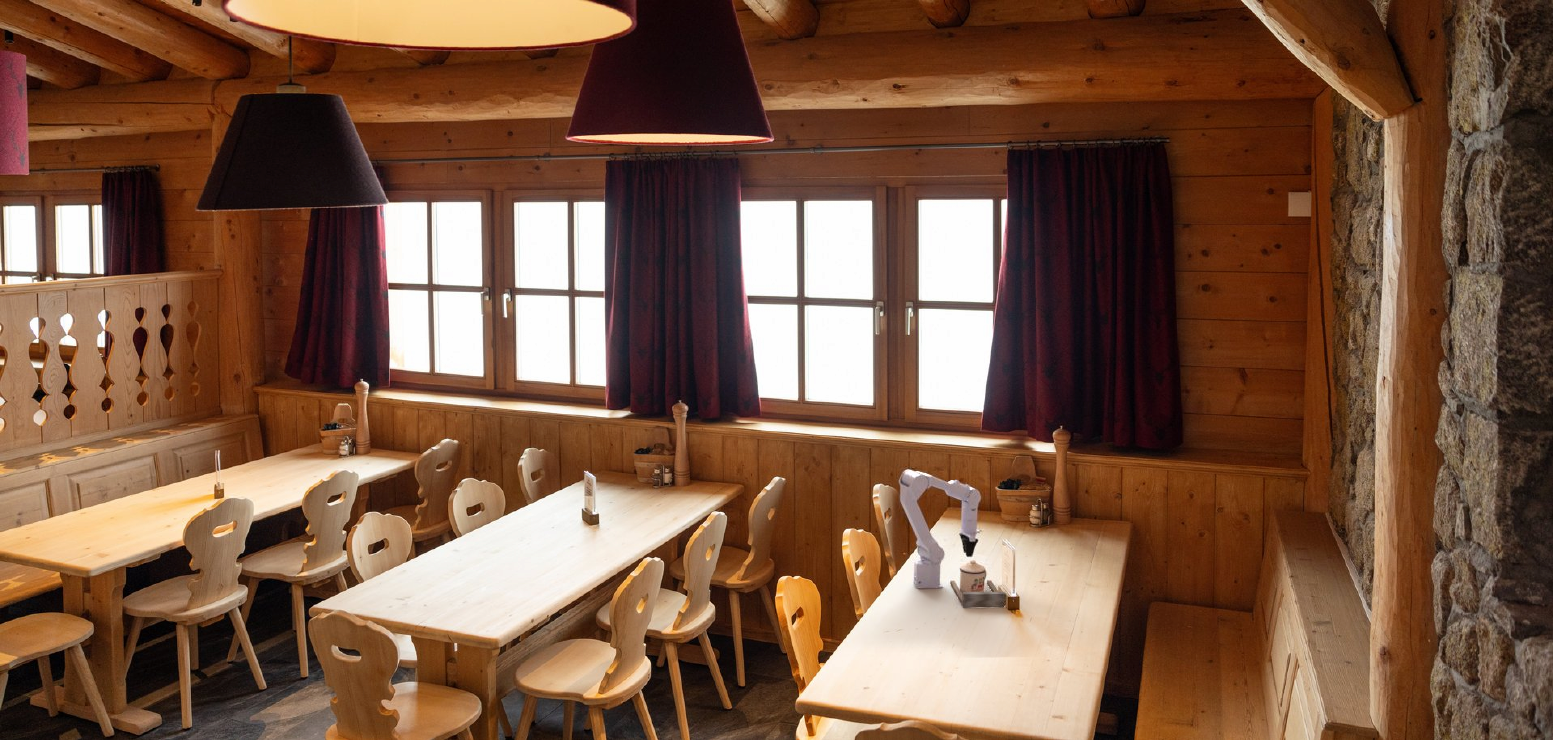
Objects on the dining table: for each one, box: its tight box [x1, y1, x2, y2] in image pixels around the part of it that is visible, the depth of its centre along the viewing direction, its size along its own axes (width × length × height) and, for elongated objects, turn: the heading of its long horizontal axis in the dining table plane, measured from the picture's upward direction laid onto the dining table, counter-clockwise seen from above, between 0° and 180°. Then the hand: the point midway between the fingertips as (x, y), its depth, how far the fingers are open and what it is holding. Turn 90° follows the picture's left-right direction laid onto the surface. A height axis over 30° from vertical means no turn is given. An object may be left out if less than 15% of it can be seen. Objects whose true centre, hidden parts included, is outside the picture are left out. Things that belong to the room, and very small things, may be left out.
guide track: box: [949, 579, 1007, 609], centre depth 423 cm, size 15×24×5 cm, turn 2°
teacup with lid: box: [959, 559, 988, 593], centre depth 427 cm, size 12×9×12 cm
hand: (968, 554), depth 439 cm, fingers open, 4 cm apart
